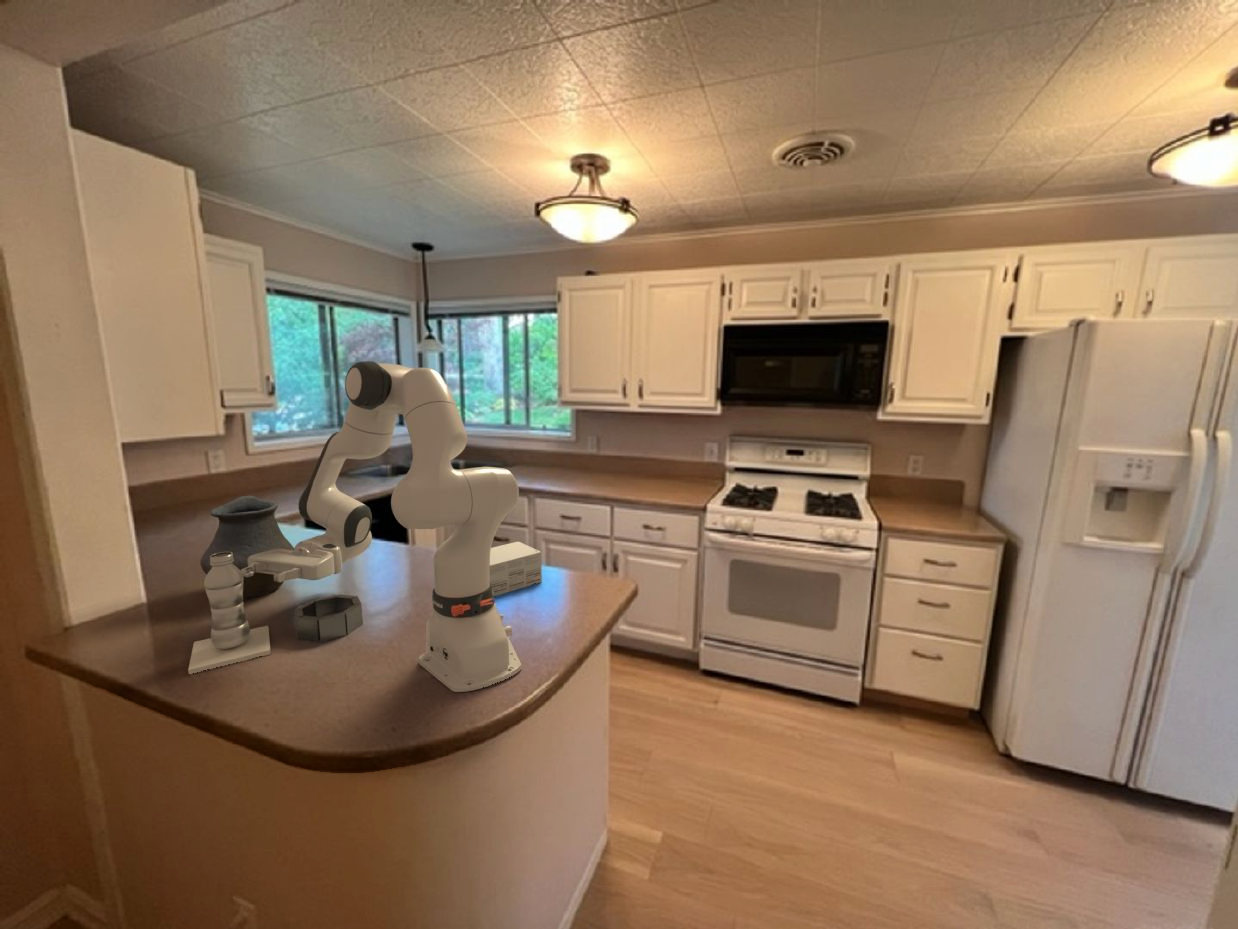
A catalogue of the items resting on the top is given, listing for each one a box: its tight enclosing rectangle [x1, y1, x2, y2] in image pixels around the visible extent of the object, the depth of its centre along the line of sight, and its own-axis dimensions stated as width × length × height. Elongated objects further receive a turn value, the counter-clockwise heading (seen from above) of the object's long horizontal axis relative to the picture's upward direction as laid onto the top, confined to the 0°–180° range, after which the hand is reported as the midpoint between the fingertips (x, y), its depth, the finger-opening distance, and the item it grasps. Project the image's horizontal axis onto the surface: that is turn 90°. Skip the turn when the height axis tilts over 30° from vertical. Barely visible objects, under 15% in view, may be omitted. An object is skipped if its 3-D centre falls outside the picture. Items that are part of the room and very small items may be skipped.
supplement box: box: [490, 541, 543, 597], centre depth 143 cm, size 17×13×9 cm
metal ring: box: [293, 594, 364, 643], centre depth 116 cm, size 13×13×5 cm
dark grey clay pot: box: [199, 495, 295, 600], centre depth 134 cm, size 21×22×25 cm
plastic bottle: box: [203, 552, 251, 650], centre depth 104 cm, size 6×7×20 cm
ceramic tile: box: [187, 625, 272, 675], centre depth 105 cm, size 13×13×1 cm
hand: (259, 576), depth 110 cm, fingers open, 8 cm apart
